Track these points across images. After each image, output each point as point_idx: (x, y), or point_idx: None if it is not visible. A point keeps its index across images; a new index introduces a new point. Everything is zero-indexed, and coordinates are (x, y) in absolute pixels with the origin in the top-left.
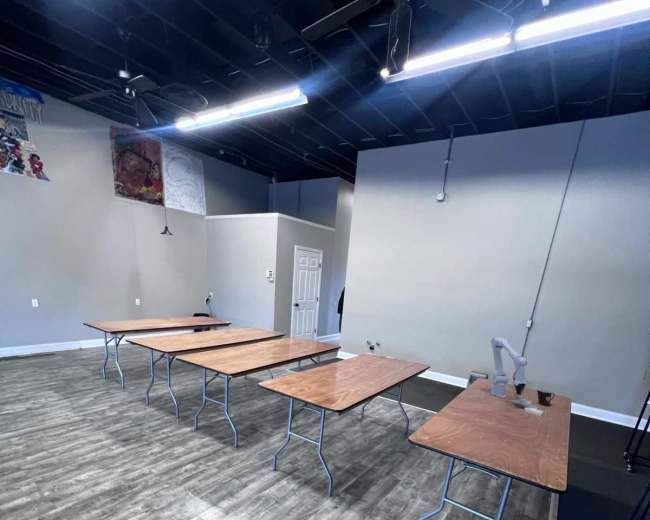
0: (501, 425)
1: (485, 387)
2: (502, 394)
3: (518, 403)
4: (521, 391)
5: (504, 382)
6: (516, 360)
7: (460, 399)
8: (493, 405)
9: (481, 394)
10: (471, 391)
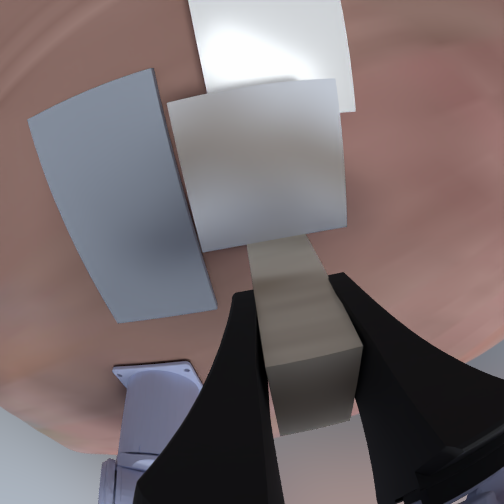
0: None
1: None
2: (175, 386)
3: (185, 252)
4: (320, 328)
5: (140, 475)
6: None
7: (462, 361)
8: (438, 288)
9: None
10: None
